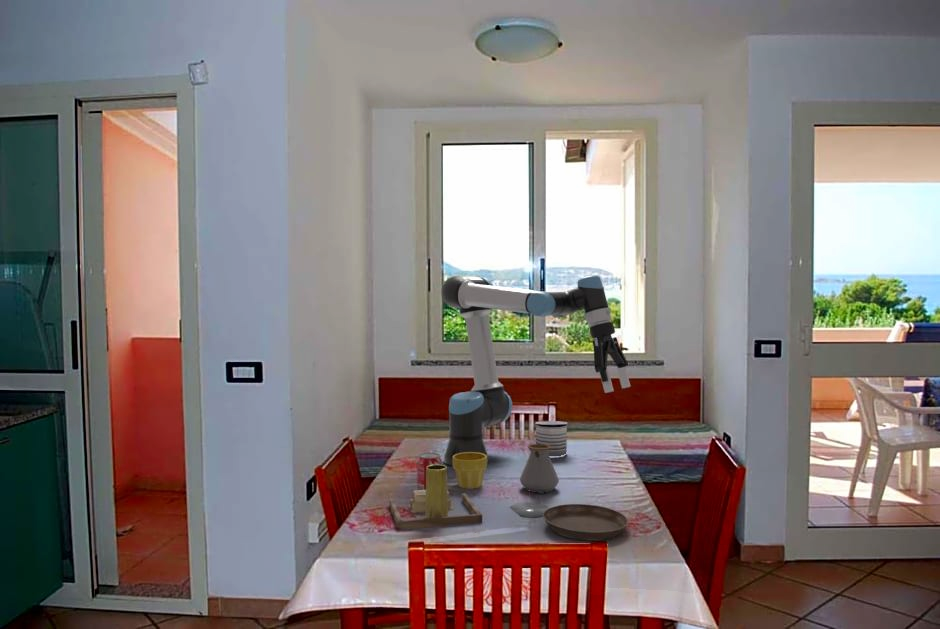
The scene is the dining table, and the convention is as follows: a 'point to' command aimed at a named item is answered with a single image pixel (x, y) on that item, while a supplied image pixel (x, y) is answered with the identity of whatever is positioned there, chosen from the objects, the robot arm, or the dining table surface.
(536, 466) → the coffee pot
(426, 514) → the vase
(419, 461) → the soda can
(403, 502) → the dining table surface
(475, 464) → the plant pot
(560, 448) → the can
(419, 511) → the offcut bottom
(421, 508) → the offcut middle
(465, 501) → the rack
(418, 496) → the offcut top
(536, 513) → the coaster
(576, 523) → the plant saucer
